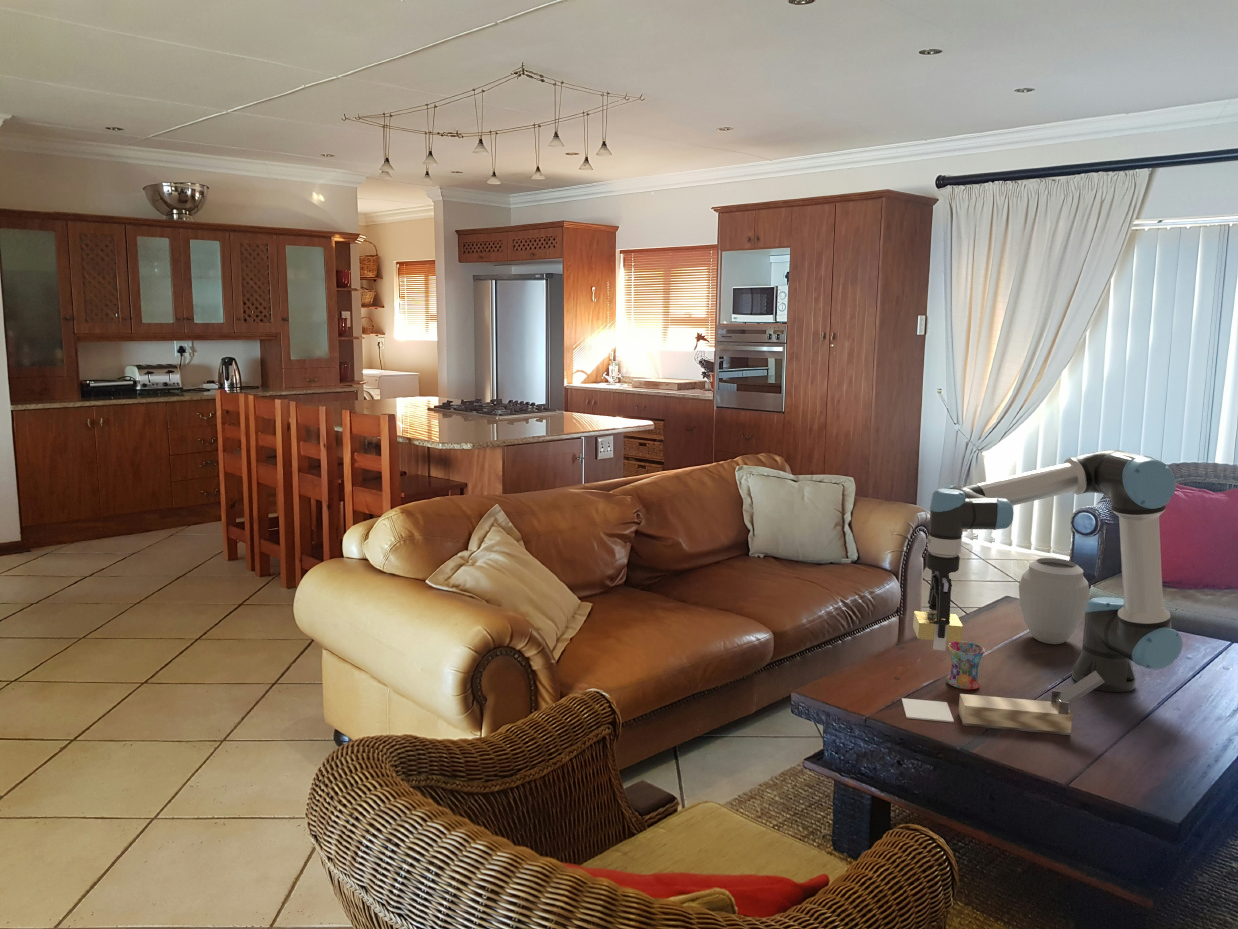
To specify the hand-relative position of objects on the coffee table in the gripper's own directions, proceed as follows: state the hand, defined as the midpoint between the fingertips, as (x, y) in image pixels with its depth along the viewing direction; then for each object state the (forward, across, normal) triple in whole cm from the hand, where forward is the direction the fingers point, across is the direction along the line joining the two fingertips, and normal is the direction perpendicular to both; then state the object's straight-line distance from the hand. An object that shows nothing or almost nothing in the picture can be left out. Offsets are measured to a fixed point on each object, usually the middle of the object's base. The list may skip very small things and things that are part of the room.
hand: (935, 642), depth 224 cm
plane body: (+18, +3, +19) cm, 26 cm away
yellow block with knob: (-2, 0, 0) cm, 2 cm away
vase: (+18, -61, +44) cm, 77 cm away
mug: (+18, -20, +12) cm, 30 cm away
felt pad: (+18, 0, -1) cm, 18 cm away
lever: (+11, +3, +29) cm, 31 cm away
